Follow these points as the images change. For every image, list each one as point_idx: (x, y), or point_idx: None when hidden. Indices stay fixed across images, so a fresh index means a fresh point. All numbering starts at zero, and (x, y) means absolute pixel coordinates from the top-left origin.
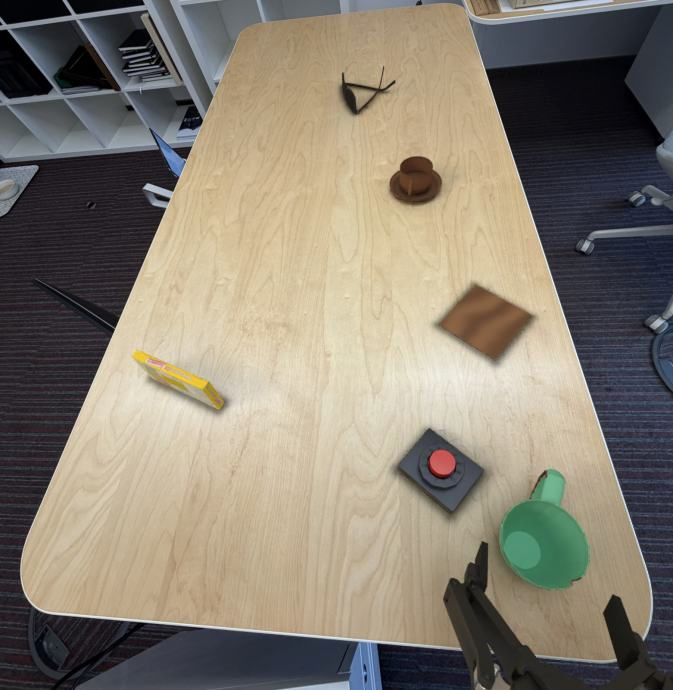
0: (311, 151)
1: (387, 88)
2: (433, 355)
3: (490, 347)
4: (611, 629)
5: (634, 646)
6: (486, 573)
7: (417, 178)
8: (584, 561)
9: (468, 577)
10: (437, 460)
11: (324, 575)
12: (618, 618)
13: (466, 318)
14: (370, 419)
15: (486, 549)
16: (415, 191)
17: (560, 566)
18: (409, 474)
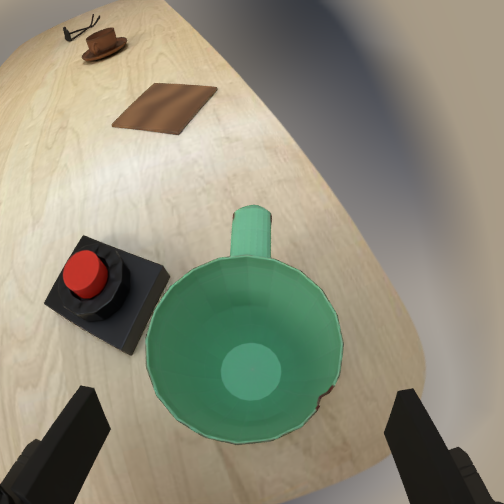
0: (32, 71)
1: (96, 22)
2: (103, 156)
3: (170, 123)
4: (404, 466)
5: (463, 500)
6: (40, 465)
7: (99, 38)
8: (335, 348)
9: (9, 475)
10: (72, 270)
11: (9, 465)
12: (418, 443)
13: (142, 109)
14: (28, 257)
15: (78, 403)
16: (102, 50)
17: (305, 375)
18: (58, 311)
